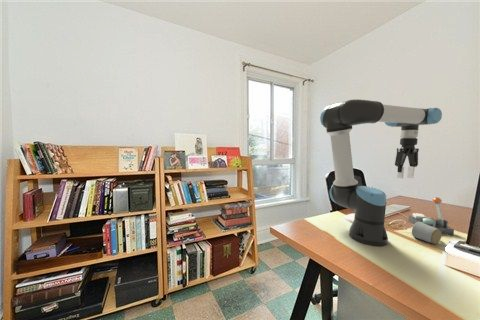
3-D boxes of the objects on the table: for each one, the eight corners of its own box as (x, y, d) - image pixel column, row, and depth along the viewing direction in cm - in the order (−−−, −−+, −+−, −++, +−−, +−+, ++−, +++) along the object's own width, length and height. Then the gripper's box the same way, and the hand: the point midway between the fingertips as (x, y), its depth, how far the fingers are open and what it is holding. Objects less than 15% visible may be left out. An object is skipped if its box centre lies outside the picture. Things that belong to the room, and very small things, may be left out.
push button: (425, 224, 101) (426, 220, 101) (420, 221, 105) (421, 217, 105) (435, 225, 100) (435, 221, 100) (429, 222, 104) (430, 218, 104)
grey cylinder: (432, 246, 85) (434, 229, 85) (410, 237, 93) (412, 222, 92) (446, 242, 89) (448, 226, 89) (423, 235, 97) (425, 219, 96)
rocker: (415, 218, 110) (416, 216, 109) (412, 215, 112) (413, 213, 112) (425, 219, 108) (425, 216, 108) (421, 216, 111) (422, 213, 111)
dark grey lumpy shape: (426, 232, 99) (427, 220, 99) (408, 220, 115) (409, 210, 114) (453, 235, 97) (454, 223, 96) (431, 222, 112) (432, 212, 111)
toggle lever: (435, 224, 101) (430, 197, 104) (440, 223, 102) (434, 197, 105) (443, 225, 98) (437, 197, 100) (448, 224, 99) (442, 197, 101)
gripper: (402, 137, 105) (398, 179, 107) (429, 138, 111) (425, 178, 113) (388, 137, 113) (385, 177, 115) (414, 138, 118) (411, 176, 120)
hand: (405, 177), depth 114 cm, fingers open, 7 cm apart
